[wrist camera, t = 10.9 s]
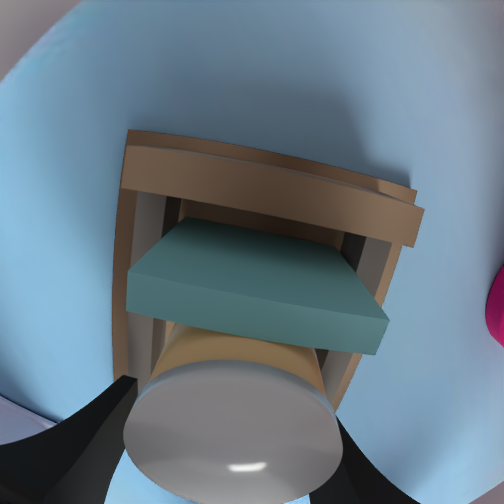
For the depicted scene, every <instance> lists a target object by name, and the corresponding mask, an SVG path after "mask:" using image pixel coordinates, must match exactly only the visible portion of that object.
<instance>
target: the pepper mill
mask: <svg viewBox="0 0 504 504" xmlns="http://www.w3.org/2000/svg"><path fill="white" fill-rule="evenodd" d="M486 322H487V327H488V330H489V332H490V334H491V335H492V336H493V337H494V338H495V339H496V340H497V341H498V342H499V343H500V344H501V345H502V346H503V347H504V265H503V267H502V268H501V270H500V271H499V273H498V275H497V276H496V279H495V281H494V283H493V286H492V288H491V291H490V294H489V298H488V302H487V308H486Z"/></svg>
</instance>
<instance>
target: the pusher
mask: <svg viewBox="0 0 504 504" xmlns="http://www.w3.org/2000/svg"><path fill="white" fill-rule="evenodd" d="M126 311H129V312H133V313H137V314H141V315H145V316H149V317H153V318H157V319H161V320H166V321H170V322H174V323H179V324H183V325H188V326H193V327H197V328H202V329H207V330H212V331H217V332H222V333H227V334H232V335H238V336H243V337H249V338H254V339H260V340H266V341H272V342H278V343H284V344H291V345H297V346H304V347H311V348H319V349H326V350H334V351H342V352H350V353H359V354H368V355H375V354H376V352H377V349H378V347H379V345H380V342H381V340H382V338H383V335H384V333H385V330H386V328H387V326H388V323H389V321H390V320H389V318H388V317H387V316H386V314H385V313H384V311H383V310H382V309H381V307H380V306H379V304H378V303H377V302H376V300H375V299H374V297H373V296H372V295H371V293H370V292H369V291H368V289H367V288H366V287H365V285H364V284H363V282H362V281H361V280H360V278H359V277H358V276H357V274H356V273H355V272H354V270H353V269H352V268H351V266H350V265H349V264H348V262H347V261H346V260H345V259H344V257H343V256H342V255H341V253H340V252H339V251H338V249H337V248H336V247H334V246H329V245H325V244H320V243H315V242H310V241H306V240H301V239H296V238H291V237H286V236H281V235H276V234H272V233H267V232H262V231H257V230H252V229H247V228H242V227H236V226H231V225H226V224H221V223H216V222H211V221H206V220H200V219H195V218H190V217H185V218H183V219H182V220H181V221H180V222H179V223H178V224H177V225H176V226H175V227H174V228H173V229H171V230H170V231H169V232H168V233H167V234H166V235H165V236H164V237H163V238H162V239H161V240H160V241H159V242H158V243H156V244H155V245H154V246H153V247H152V248H151V249H150V250H149V251H148V252H147V253H146V254H145V255H144V256H143V257H142V258H141V259H140V260H139V261H138V262H137V263H136V264H135V265H134V266H133V267H132V268H130V269H129V270H128V276H127V297H126Z"/></svg>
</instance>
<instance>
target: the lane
mask: <svg viewBox="0 0 504 504" xmlns="http://www.w3.org/2000/svg"><path fill="white" fill-rule="evenodd" d="M416 194H417V190H414V189H411V188H407V187H404V186H401V185H398V184H395V183H391V182H388V181H385V180H381V179H378V178H375V177H371V176H368V175H364V174H360V173H357V172H353V171H349V170H346V169H342V168H338V167H334V166H330V165H326V164H322V163H318V162H314V161H310V160H306V159H302V158H297V157H293V156H288V155H284V154H279V153H275V152H270V151H265V150H260V149H255V148H250V147H245V146H239V145H234V144H228V143H223V142H217V141H211V140H205V139H198V138H192V137H185V136H178V135H171V134H163V133H155V132H147V131H138V130H129V129H128V134H127V140H126V146H125V153H124V159H123V166H122V173H121V181H120V189H119V198H118V208H117V218H116V230H115V243H114V260H113V285H112V345H113V369H114V382H115V381H116V380H117V379H118V378H119V377H120V376H122V375H126V376H130V377H133V378H137V379H138V394H139V393H140V391H141V390H142V389H143V388H144V386H145V385H146V384H147V383H148V382H149V379H150V377H151V375H152V373H153V370H154V368H155V366H156V364H157V361H158V359H159V357H160V355H161V353H162V350H163V348H164V346H165V344H166V342H167V339H168V337H169V335H170V333H171V331H172V329H173V326H174V324H175V323H174V322H170V321H166V320H161V319H157V318H153V317H149V316H145V315H141V314H137V313H133V312H129V311H126V297H127V276H128V270H129V269H130V268H132V267H133V266H134V265H135V264H136V263H137V262H138V261H139V260H140V259H141V258H142V257H143V256H144V255H145V254H146V253H147V252H148V251H149V250H150V249H151V248H152V247H153V246H154V245H155V244H156V243H158V242H159V241H160V240H161V239H162V238H163V237H164V236H165V235H166V234H167V233H168V232H169V231H170V230H171V229H173V228H174V227H175V226H176V225H177V224H178V223H179V222H180V221H181V220H182V219H183V218H185V217H190V218H195V219H200V220H206V221H211V222H216V223H221V224H226V225H231V226H236V227H242V228H247V229H252V230H257V231H262V232H267V233H272V234H276V235H281V236H286V237H291V238H296V239H301V240H306V241H310V242H315V243H320V244H325V245H329V246H334V247H336V248H337V249H338V251H339V252H340V253H341V255H342V256H343V257H344V259H345V260H346V261H347V262H348V264H349V265H350V266H351V268H352V269H353V270H354V272H355V273H356V274H357V276H358V277H359V278H360V280H361V281H362V282H363V284H364V285H365V287H366V288H367V289H368V291H369V292H370V293H371V295H372V296H373V297H374V299H375V300H376V302H377V303H378V304H379V306H380V307H382V304H383V302H384V299H385V296H386V293H387V290H388V288H389V285H390V282H391V279H392V276H393V273H394V270H395V267H396V264H397V261H398V258H399V255H400V251H401V248H402V245H404V246H408V247H412V248H414V244H415V241H416V238H417V234H418V231H419V227H420V224H421V220H422V217H423V213H424V209H423V208H421V207H418V206H416V205H414V202H415V198H416ZM315 352H316V356H317V360H318V364H319V368H320V372H321V376H322V380H323V384H324V388H325V392H326V396H327V400H328V401H329V403H330V404H331V406H332V408H333V410H334V413H335V412H336V410H337V408H338V406H339V404H340V402H341V400H342V398H343V396H344V394H345V392H346V390H347V388H348V386H349V383H350V381H351V379H352V377H353V375H354V373H355V370H356V368H357V366H358V364H359V361H360V359H361V357H362V354H359V353H350V352H342V351H334V350H326V349H319V348H315Z"/></svg>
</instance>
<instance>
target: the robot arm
mask: <svg viewBox="0 0 504 504" xmlns="http://www.w3.org/2000/svg"><path fill="white" fill-rule="evenodd" d="M137 396H138V379H137V378H133V377H130V376H126V375H122V376H120V377H119V378H118V379H117V380H116V381H115V382H114V383H113V384H112V385H110V386H109V387H108V388H107V389H106V390H105V391H104V392H102V393H101V394H100V395H99V396H98V397H96V398H95V399H94V400H93V401H91V402H90V403H89V404H87V405H86V406H85V407H83V408H82V409H80V410H79V411H78V412H76V413H75V414H73V415H72V416H70V417H69V418H67V419H65V420H64V421H62V422H60V423H58V424H57V423H54V422H52V421H50V420H48V419H45V418H43V417H41V416H39V415H37V414H35V413H32V412H30V411H28V410H26V409H24V408H22V407H20V406H18V405H16V404H14V403H13V402H11V401H9V400H7V399H5V398H3V397H1V396H0V504H104V502H105V498H106V495H107V491H108V488H109V485H110V482H111V479H112V476H113V474H114V472H115V469H116V467H117V465H118V463H119V461H120V458H121V456H122V454H123V452H124V450H125V444H124V440H123V431H124V426H125V423H126V421H127V418H128V416H129V414H130V412H131V409H132V407H133V405H134V403H135V400H136V398H137ZM336 419H337V423H338V427H339V431H340V435H341V439H342V445H343V453H342V458H341V461H340V464H339V466H338V468H337V469H336V471H335V472H334V474H333V475H332V476H331V477H330V478H329V479H328V480H327V481H326V482H325V483H324V484H323V485H321V486H320V487H319V488H317V489H316V490H314V491H312V492H311V493H309V497H310V504H420V503H419V502H417V501H415V500H414V499H412V498H411V497H409V496H408V495H406V494H405V493H404V492H402V491H401V490H400V489H398V488H397V487H396V486H395V485H393V484H392V483H391V482H390V481H389V480H388V479H387V478H386V477H384V476H383V475H382V474H381V473H380V472H379V471H378V470H377V469H376V468H375V467H374V466H373V464H372V463H371V462H370V461H369V460H368V459H367V458H366V456H365V455H364V454H363V453H362V451H361V450H360V449H359V448H358V446H357V445H356V444H355V442H354V441H353V439H352V438H351V437H350V435H349V434H348V432H347V431H346V430H345V428H344V427H343V425H342V424H341V422H340V421H339V419H338V418H337V416H336Z"/></svg>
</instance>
